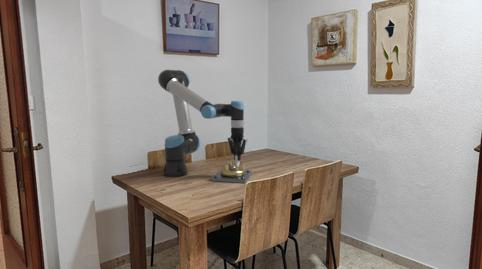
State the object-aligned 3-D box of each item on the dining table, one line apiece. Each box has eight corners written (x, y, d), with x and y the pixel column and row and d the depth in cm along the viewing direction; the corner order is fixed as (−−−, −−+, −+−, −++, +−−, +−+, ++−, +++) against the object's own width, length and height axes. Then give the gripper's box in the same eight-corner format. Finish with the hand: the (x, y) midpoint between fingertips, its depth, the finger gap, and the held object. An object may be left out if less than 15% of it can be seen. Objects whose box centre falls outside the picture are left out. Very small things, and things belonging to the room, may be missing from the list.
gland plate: (211, 181, 196) (211, 176, 195) (220, 172, 215) (220, 168, 215) (245, 183, 191) (245, 178, 191) (252, 174, 211) (252, 170, 210)
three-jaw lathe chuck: (217, 176, 198) (217, 165, 197) (224, 170, 211) (224, 160, 210) (241, 177, 195) (241, 166, 194) (246, 171, 208) (246, 161, 207)
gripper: (250, 127, 203) (249, 165, 206) (231, 125, 210) (231, 163, 213) (243, 128, 197) (243, 168, 200) (224, 126, 204) (224, 165, 207)
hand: (237, 165), depth 207 cm, fingers closed
